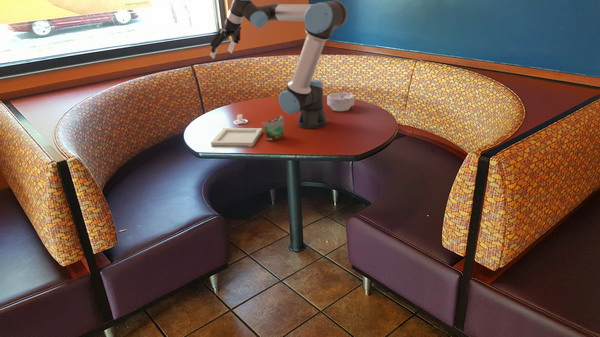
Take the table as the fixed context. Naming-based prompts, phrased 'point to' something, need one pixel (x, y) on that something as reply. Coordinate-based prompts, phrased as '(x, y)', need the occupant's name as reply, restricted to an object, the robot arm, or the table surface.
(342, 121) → the table surface
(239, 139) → the white square tray
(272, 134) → the food container
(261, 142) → the table surface
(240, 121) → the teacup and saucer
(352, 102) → the paper bowls
